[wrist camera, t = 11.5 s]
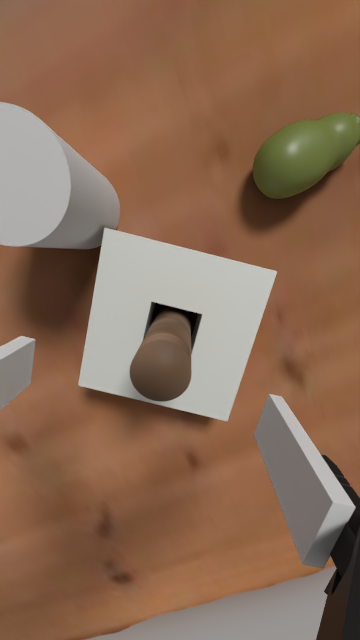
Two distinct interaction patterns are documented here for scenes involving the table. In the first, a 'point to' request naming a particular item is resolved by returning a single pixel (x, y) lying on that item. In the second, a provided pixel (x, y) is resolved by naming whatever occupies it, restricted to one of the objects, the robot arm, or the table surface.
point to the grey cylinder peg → (49, 188)
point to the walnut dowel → (164, 357)
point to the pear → (304, 153)
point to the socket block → (180, 292)
